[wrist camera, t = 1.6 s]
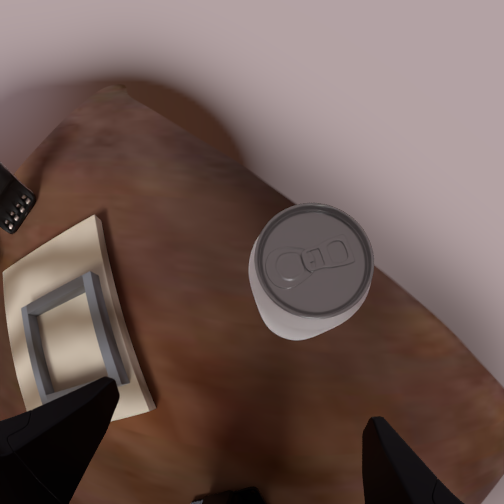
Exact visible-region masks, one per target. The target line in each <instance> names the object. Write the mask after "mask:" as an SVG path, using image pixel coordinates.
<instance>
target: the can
mask: <svg viewBox="0 0 504 504" xmlns="http://www.w3.org/2000/svg"><path fill="white" fill-rule="evenodd" d="M373 271H374V255H373V250H372V246H371V243H370V241H369V239H368V237H367V235H366V233H365V231H364V230H363V229H362V227H361V226H360V225H359V224H358V223H357V222H356V220H354V219H353V218H352V217H351V216H350V215H348V214H347V213H345V212H344V211H342V210H340V209H337V208H335V207H333V206H330V205H325V204H320V203H304V204H299V205H295V206H292V207H289V208H287V209H285V210H283V211H281V212H279V213H278V214H277V215H275V216H274V217H273V218H272V219H271V220H270V221H269V222H268V223H267V224H266V226H265V227H264V228H263V230H262V232H261V233H260V235H259V237H258V238H257V240H256V242H255V244H254V246H253V248H252V251H251V255H250V260H249V280H250V285H251V289H252V292H253V295H254V298H255V301H256V304H257V307H258V310H259V312H260V315H261V317H262V319H263V321H264V322H265V324H266V325H267V327H268V328H269V329H270V330H271V331H272V332H274V333H275V334H277V335H278V336H280V337H283V338H285V339H289V340H304V339H309V338H312V337H314V336H317V335H319V334H321V333H324V332H326V331H328V330H330V329H332V328H334V327H336V326H338V325H340V324H342V323H343V322H345V321H346V320H348V319H349V318H350V317H351V316H352V315H353V314H354V313H355V312H356V311H357V310H358V309H359V308H360V306H361V305H362V304H363V302H364V300H365V298H366V296H367V294H368V291H369V288H370V284H371V280H372V276H373Z"/></svg>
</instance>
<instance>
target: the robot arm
mask: <svg viewBox="0 0 504 504" xmlns="http://www.w3.org/2000/svg"><path fill="white" fill-rule="evenodd" d="M119 398H120V394H119V390H118V387H117V383H116V381H115V379H113V378H110V377H107V376H104V377H102V378H100V379H98V380H95V381H93V382H91V383H89V384H87V385H85V386H83V387H81V388H78V389H76V390H74V391H72V392H70V393H68V394H66V395H63V396H61V397H59V398H57V399H54V400H52V401H50V402H48V403H46V404H43V405H41V406H39V407H36V408H34V409H32V410H29V411H27V412H25V413H22V414H20V415H17V416H15V417H12V418H9V419H5V420H2V421H0V504H69V502H70V500H71V498H72V496H73V494H74V492H75V490H76V488H77V486H78V484H79V482H80V480H81V478H82V476H83V474H84V473H85V471H86V469H87V467H88V465H89V463H90V461H91V459H92V457H93V455H94V454H95V452H96V450H97V448H98V446H99V444H100V442H101V440H102V439H103V437H104V435H105V433H106V431H107V429H108V426H109V424H110V421H111V419H112V416H113V414H114V411H115V409H116V406H117V404H118V402H119ZM362 476H363V487H364V498H365V504H464V503H463V502H462V501H460V500H459V499H458V498H457V497H456V496H455V495H454V494H453V493H451V491H450V490H449V489H448V488H447V487H446V486H445V485H444V484H443V483H442V482H441V481H440V480H439V479H437V477H436V476H435V474H434V473H433V472H432V471H431V470H430V469H429V468H428V467H427V466H426V465H425V463H424V462H423V461H422V460H421V459H420V458H419V457H418V456H417V455H416V453H415V452H414V451H413V450H412V449H411V448H410V447H409V446H408V445H407V443H406V442H405V441H404V440H403V439H402V438H401V437H400V436H399V435H398V433H397V432H396V431H395V430H394V429H393V428H392V427H391V426H390V424H389V423H388V422H387V421H386V420H385V419H384V418H383V417H380V416H379V417H371V418H370V419H369V421H368V423H367V425H366V427H365V429H364V431H363V436H362ZM250 491H255V493H251V492H250ZM191 504H266V502H265V500H264V498H263V497H262V495H261V493H260V492H259V490H258V489H257V488H256V487H248V488H245V489H241V490H238V491H226V492H222V493H218V494H214V495H209V496H206V497H205V498H204V499H199V500H194V501H192V502H191Z"/></svg>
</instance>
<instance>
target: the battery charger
mask: <svg viewBox="0 0 504 504" xmlns="http://www.w3.org/2000/svg"><path fill="white" fill-rule="evenodd" d="M34 203H35V196H34V194H33V192H32V191H31V190H30V189H29V188H27V187H26V186H25V185H24V184H22V183H21V182H20V181H19V180H18V179H17V178H16V177H15V176H14V175H13V174H12V173H11V172H10V171H9V170H8V169H7V168H6V167H5V166H4V165H3V164H2V163H1V162H0V227H1V228H2V229H4V230H5V231H7V232H8V233H10V234H13V233H15V231H16V230H17V229H18V227H19V226H20V225H21V223H22V222H23V220H24V219H25V217H26V216H27V214H28V213H29V211H30V210H31V208H32V207H33V205H34Z"/></svg>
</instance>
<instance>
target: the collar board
mask: <svg viewBox="0 0 504 504" xmlns="http://www.w3.org/2000/svg"><path fill="white" fill-rule="evenodd" d="M3 286H4V299H5V310H6V318H7V326H8V333H9V339H10V345H11V350H12V355H13V360H14V365H15V369H16V374H17V378H18V382H19V386H20V389H21V393H22V396H23V400H24V403H25V407H26V410H27V411H29V410H32V409H34V408H36V407H39V406H41V405H43V404H46V403H48V402H50V401H52V400H54V399H57V398H59V397H61V396H63V395H66V394H68V393H70V392H72V391H74V390H76V389H78V388H81V387H83V386H85V385H87V384H89V383H91V382H93V381H95V380H98V379H100V378H102V377H104V376H107V377H110V378H113V379H115V381H116V383H117V387H118V390H119V394H120V398H119V402H118V404H117V406H116V409H115V411H114V414H113V416H112V419H111V421H114V420H118V419H122V418H126V417H130V416H134V415H138V414H141V413H145V412H148V411H151V410H154V409H156V406H155V404H154V402H153V399H152V397H151V394H150V392H149V389H148V387H147V384H146V382H145V379H144V376H143V374H142V371H141V368H140V366H139V363H138V360H137V357H136V354H135V351H134V348H133V345H132V342H131V339H130V336H129V333H128V330H127V327H126V323H125V320H124V317H123V313H122V310H121V306H120V303H119V299H118V295H117V291H116V287H115V283H114V279H113V275H112V271H111V267H110V262H109V258H108V253H107V248H106V243H105V238H104V233H103V228H102V222H101V220H100V219H99V218H98V217H97V216H95V215H93V216H91V217H89V218H87V219H86V220H84V221H82V222H80V223H79V224H77V225H75V226H73V227H72V228H70V229H68V230H67V231H65V232H63V233H62V234H60V235H58V236H57V237H55V238H53V239H52V240H50V241H49V242H47V243H45V244H44V245H42V246H41V247H39V248H37V249H36V250H34V251H33V252H31V253H30V254H28V255H27V256H25V257H24V258H22V259H21V260H19V261H18V262H16V263H15V264H13V265H12V266H11V267H9V268H8V269H6V270H5V271H3Z"/></svg>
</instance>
